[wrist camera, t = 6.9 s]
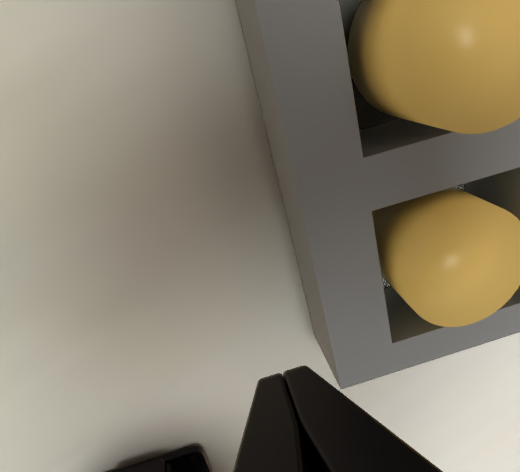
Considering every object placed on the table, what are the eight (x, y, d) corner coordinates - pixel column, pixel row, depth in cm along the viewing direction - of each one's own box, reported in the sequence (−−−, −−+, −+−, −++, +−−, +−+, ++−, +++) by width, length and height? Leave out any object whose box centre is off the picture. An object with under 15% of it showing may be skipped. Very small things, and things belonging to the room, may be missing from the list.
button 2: (485, 97, 17) (571, 108, 13) (359, 133, 16) (411, 154, 13) (479, -55, 15) (577, -93, 11) (336, -17, 15) (389, -44, 11)
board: (515, 273, 23) (578, 313, 20) (314, 335, 23) (340, 389, 19) (503, -436, 14) (622, -622, 10) (149, -362, 13) (136, -533, 9)
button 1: (470, 263, 21) (530, 305, 18) (372, 293, 21) (412, 342, 17) (463, 164, 20) (529, 188, 16) (355, 196, 19) (397, 227, 16)
